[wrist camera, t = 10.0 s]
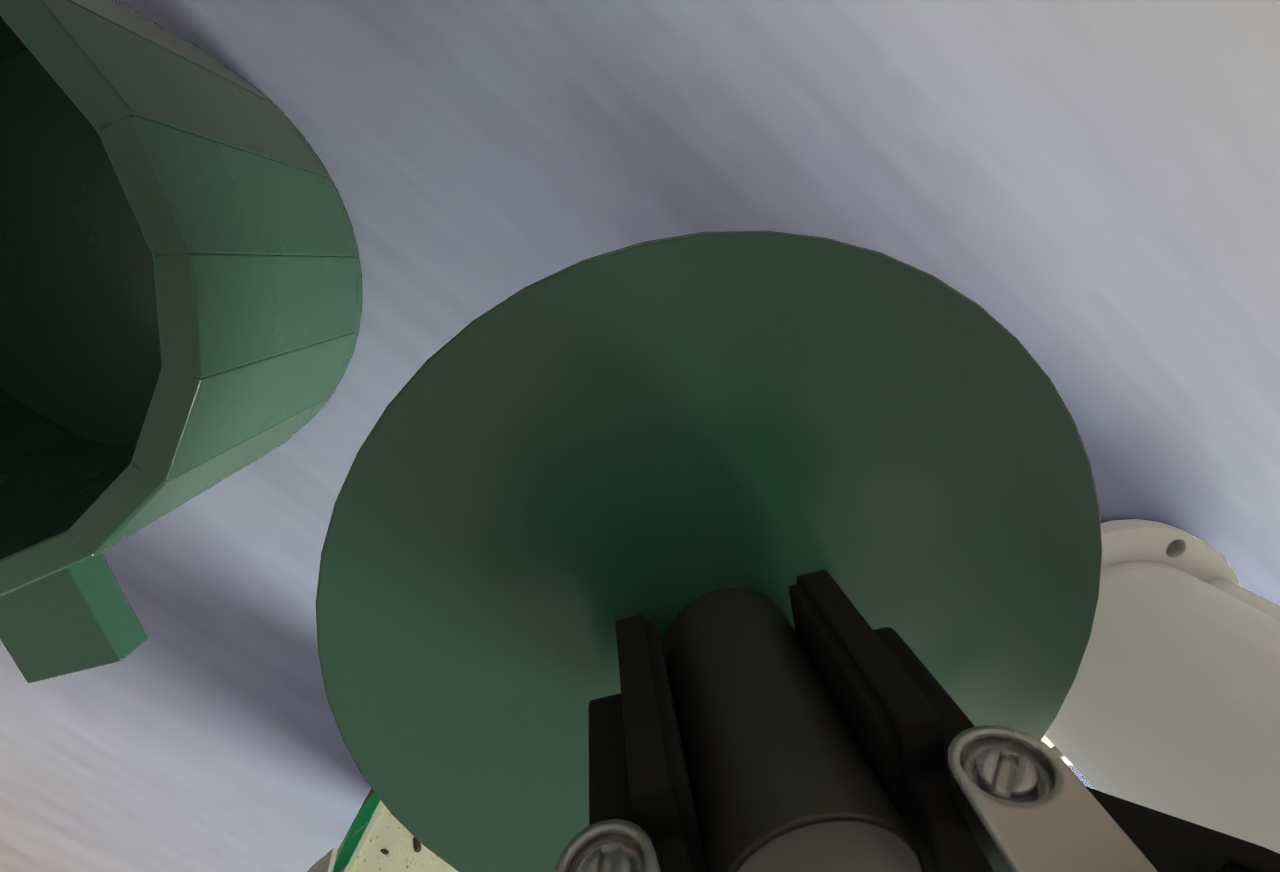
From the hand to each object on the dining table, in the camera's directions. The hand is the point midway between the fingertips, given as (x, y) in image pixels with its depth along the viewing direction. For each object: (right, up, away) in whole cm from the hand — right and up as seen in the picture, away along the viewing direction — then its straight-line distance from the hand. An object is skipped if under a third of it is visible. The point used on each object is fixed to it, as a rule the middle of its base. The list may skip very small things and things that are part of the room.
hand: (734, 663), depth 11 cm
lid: (0, 0, +1) cm, 1 cm away
